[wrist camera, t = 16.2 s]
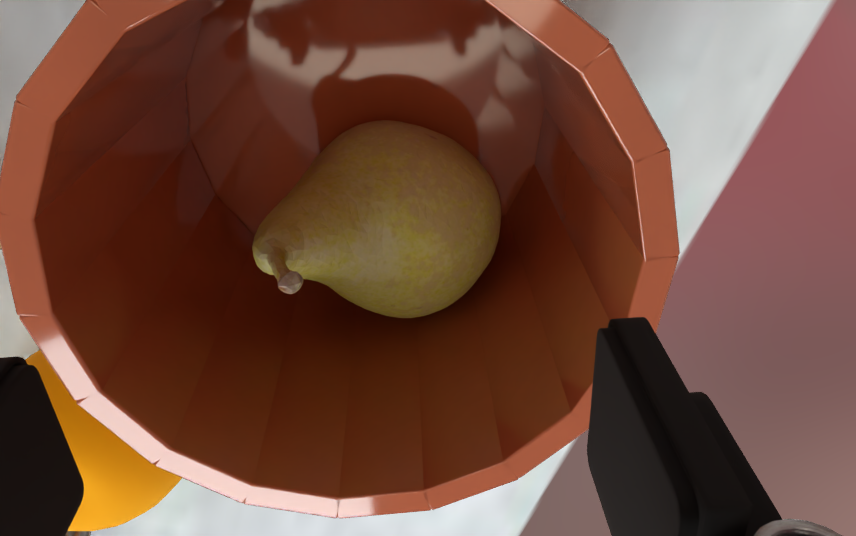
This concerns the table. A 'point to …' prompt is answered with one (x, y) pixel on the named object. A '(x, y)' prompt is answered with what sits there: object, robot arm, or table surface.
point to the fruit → (385, 221)
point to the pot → (315, 302)
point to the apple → (103, 463)
